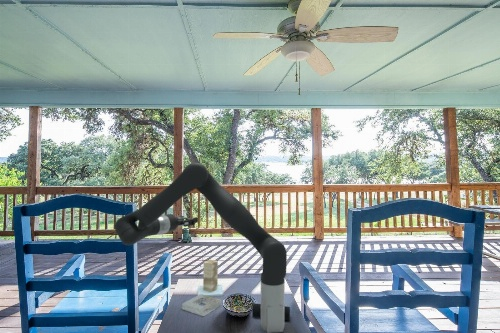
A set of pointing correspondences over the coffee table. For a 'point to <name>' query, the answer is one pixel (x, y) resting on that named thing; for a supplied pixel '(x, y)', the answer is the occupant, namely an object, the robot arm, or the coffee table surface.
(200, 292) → the pale blue plate
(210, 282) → the maple peg
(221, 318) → the coffee table surface
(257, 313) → the pipe connector
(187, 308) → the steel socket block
